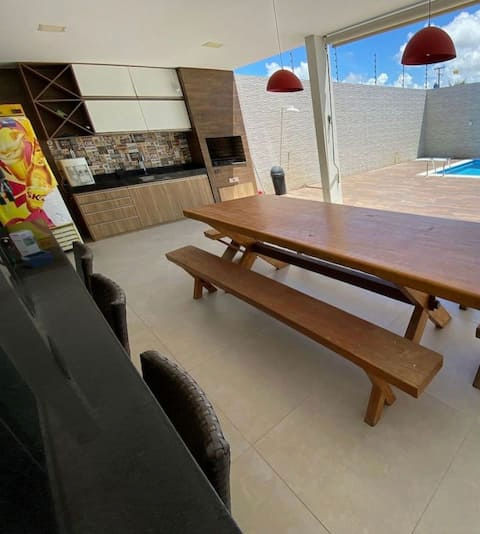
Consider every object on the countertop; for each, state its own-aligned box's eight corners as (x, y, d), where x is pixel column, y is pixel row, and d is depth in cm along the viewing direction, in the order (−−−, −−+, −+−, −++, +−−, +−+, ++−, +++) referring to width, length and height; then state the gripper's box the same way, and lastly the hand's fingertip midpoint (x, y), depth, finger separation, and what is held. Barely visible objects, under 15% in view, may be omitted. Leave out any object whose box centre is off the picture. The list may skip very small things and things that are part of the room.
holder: (34, 268, 144) (28, 258, 142) (26, 266, 147) (20, 256, 145) (55, 261, 151) (50, 252, 148) (46, 259, 154) (41, 250, 151)
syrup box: (34, 260, 153) (18, 233, 147) (24, 260, 154) (8, 233, 148) (46, 256, 158) (31, 229, 152) (36, 256, 159) (21, 229, 153)
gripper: (-13, 168, 148) (5, 201, 155) (-31, 171, 137) (-10, 207, 144) (7, 166, 151) (25, 199, 158) (-9, 169, 139) (11, 204, 146)
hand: (8, 203), depth 151 cm, fingers open, 8 cm apart
